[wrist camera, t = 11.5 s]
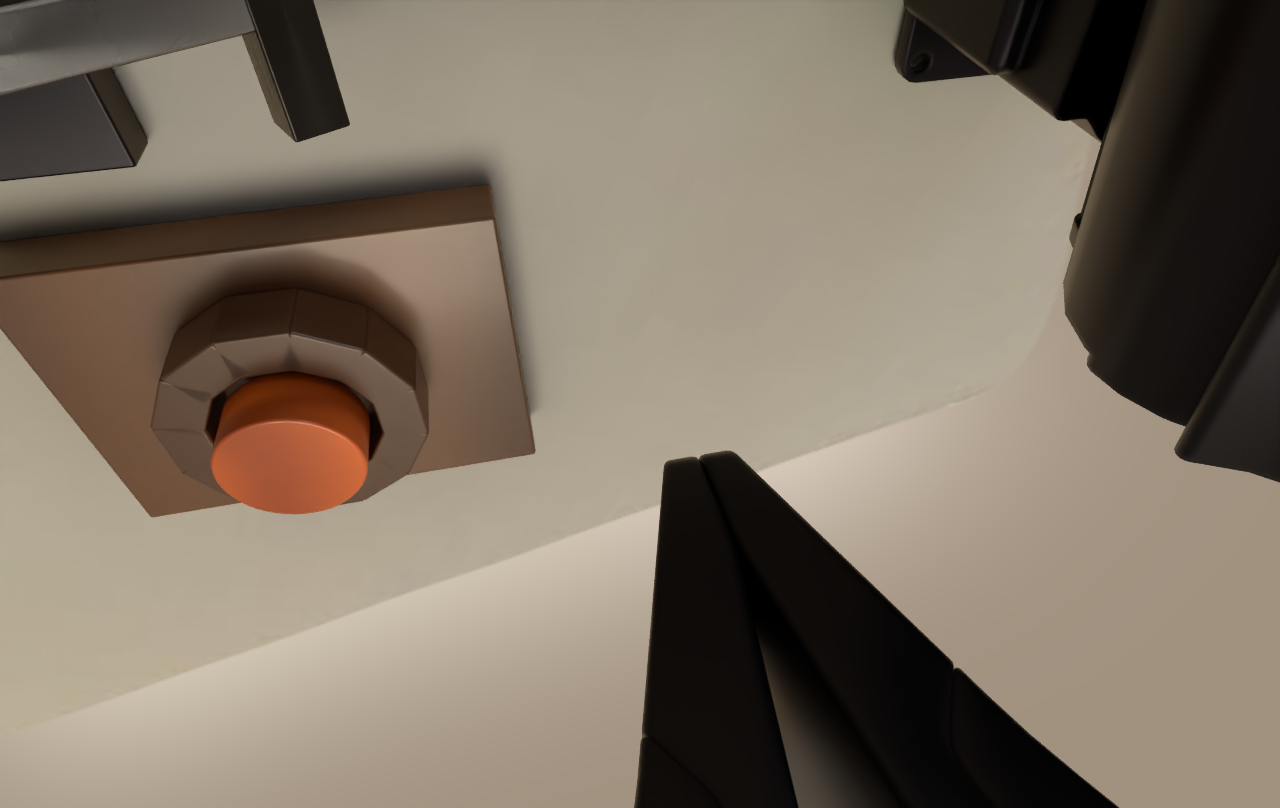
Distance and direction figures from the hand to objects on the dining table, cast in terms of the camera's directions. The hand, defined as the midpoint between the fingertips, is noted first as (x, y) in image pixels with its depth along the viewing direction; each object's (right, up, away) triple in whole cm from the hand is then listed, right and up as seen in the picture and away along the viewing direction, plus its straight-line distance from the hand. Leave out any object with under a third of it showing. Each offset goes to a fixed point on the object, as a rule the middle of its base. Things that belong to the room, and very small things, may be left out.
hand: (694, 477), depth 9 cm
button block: (-10, +3, +13) cm, 17 cm away
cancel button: (-10, 0, +11) cm, 15 cm away
